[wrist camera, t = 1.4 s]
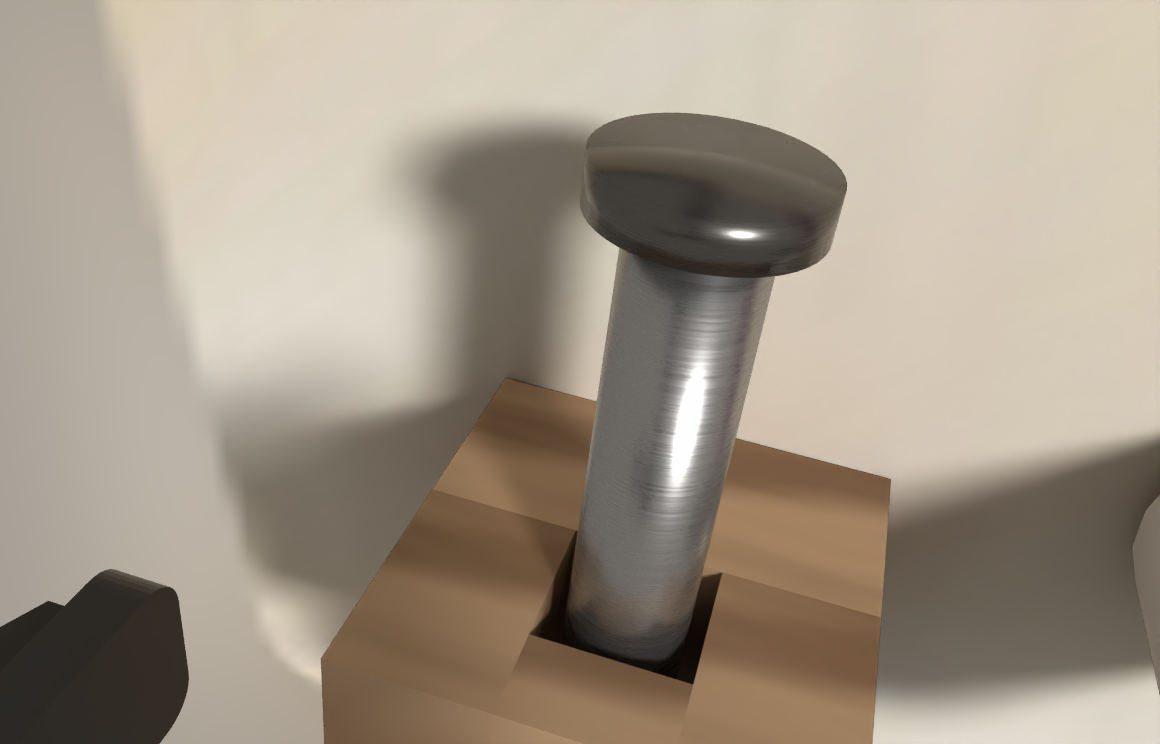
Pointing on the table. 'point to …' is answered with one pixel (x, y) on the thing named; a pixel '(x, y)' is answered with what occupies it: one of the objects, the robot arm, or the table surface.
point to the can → (1149, 578)
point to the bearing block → (540, 593)
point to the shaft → (679, 354)
